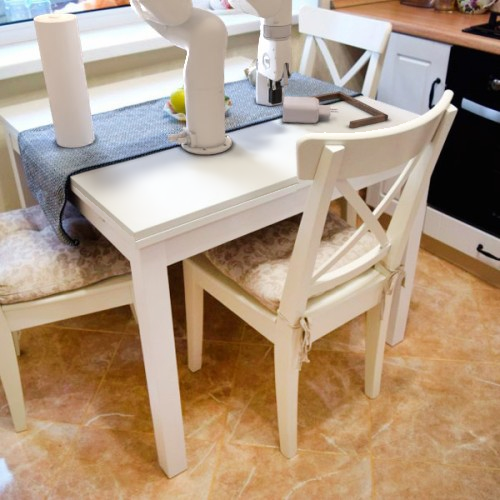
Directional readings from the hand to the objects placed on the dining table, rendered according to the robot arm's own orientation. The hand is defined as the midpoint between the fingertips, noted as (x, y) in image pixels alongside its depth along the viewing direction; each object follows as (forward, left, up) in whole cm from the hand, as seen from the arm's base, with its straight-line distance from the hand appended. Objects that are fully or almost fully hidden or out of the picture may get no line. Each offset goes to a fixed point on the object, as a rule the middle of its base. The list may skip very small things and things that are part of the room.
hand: (275, 102), depth 155 cm
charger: (+11, 0, -7) cm, 13 cm away
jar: (+8, +17, -7) cm, 20 cm away
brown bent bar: (+23, 0, -6) cm, 24 cm away
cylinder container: (-50, +15, -7) cm, 52 cm away
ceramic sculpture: (+14, +33, -7) cm, 37 cm away
